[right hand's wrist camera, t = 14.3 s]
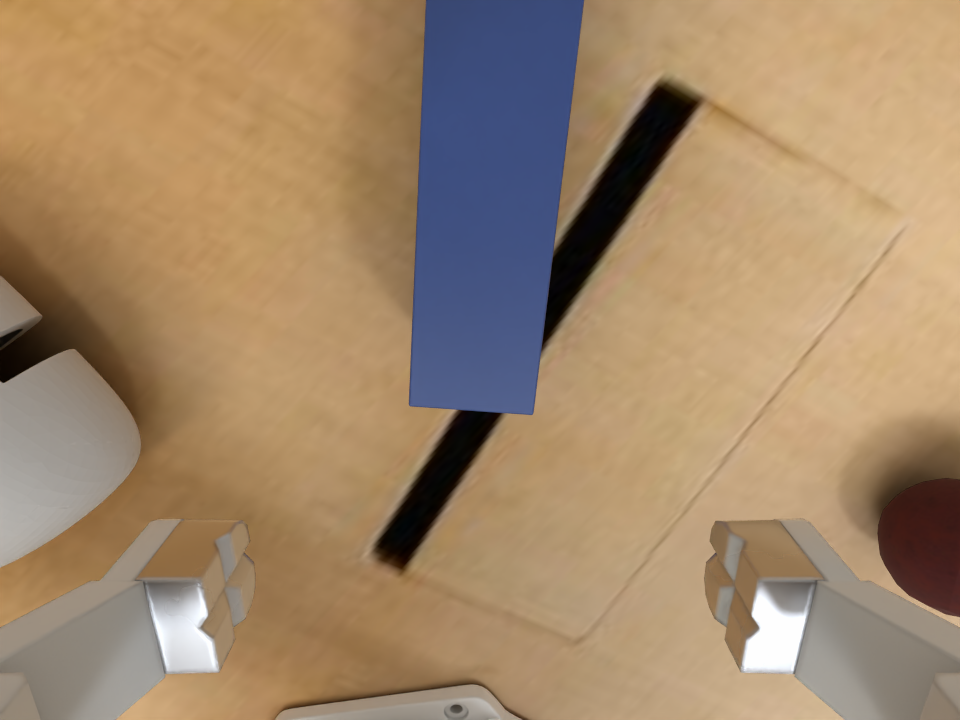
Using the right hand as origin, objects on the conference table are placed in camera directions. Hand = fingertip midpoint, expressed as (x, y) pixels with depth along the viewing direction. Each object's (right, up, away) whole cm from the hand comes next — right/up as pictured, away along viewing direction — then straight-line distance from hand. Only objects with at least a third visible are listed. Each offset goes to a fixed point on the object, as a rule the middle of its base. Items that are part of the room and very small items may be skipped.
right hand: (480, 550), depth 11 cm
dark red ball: (+27, -6, +27) cm, 38 cm away
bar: (+1, +16, +19) cm, 24 cm away
